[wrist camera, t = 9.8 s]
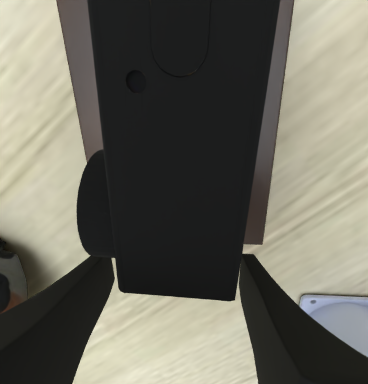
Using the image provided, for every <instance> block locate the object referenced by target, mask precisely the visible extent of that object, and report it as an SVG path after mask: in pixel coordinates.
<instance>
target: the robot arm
mask: <svg viewBox="0 0 368 384" xmlns="http://www.w3.org/2000/svg"><path fill="white" fill-rule="evenodd" d="M114 280H115V277H114V271H113V265H112V260H111V258H110V257H93V256H90V257H89V258H87V259H86V260H85V261H83V262H82V263H81V264H80V265H78V266H77V267H76V268H74V269H73V270H72V271H70V272H69V273H68V274H66V275H65V276H63V277H62V278H61V279H59V280H58V281H56V282H55V283H53V284H52V285H50V286H49V287H47V288H46V289H44V290H43V291H41V292H40V293H38V294H36V295H34V296H33V297H31V298H29V299H28V300H26V301H24V302H22V303H20V304H18V305H16V306H15V307H13V308H11V309H9V310H7V311H5V312H3V313H1V314H0V384H72V383H73V380H74V377H75V374H76V371H77V368H78V365H79V363H80V360H81V357H82V355H83V352H84V349H85V347H86V344H87V342H88V340H89V337H90V335H91V333H92V331H93V329H94V327H95V325H96V323H97V321H98V319H99V317H100V314H101V312H102V310H103V308H104V306H105V304H106V302H107V300H108V298H109V295H110V292H111V289H112V286H113V283H114ZM239 289H240V296H241V303H242V307H243V311H244V316H245V320H246V324H247V328H248V332H249V336H250V340H251V344H252V348H253V353H254V358H255V365H256V371H257V377H258V384H368V297H351V296H326V295H303V296H302V297H301V299H300V304H299V306H298V305H297V304H296V303H295V302H294V301H293V300H292V299H291V298H290V297H289V296H288V295H287V294H286V293H285V292H284V291H283V290H282V289H281V287H280V286H279V285H278V284H277V283H276V282H275V281H274V279H273V278H272V277H271V276H270V275H269V273H268V272H267V271H266V270H265V268H264V267H263V266H262V265H261V263H260V262H259V261H258V259H257V258H256V257H255V255H254V254H242V257H241V266H240V277H239Z"/></svg>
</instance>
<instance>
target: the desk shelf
mask: <svg viewBox="0 0 368 384" xmlns="http://www.w3.org/2000/svg"><path fill="white" fill-rule="evenodd" d="M56 1H57V7H58V12H59V17H60V22H61V28H62V33H63V38H64V44H65V49H66V54H67V60H68V65H69V70H70V75H71V81H72V86H73V91H74V97H75V102H76V107H77V113H78V118H79V123H80V128H81V134H82V139H83V144H84V150H85V155H86V160H87V163H88V161H89V159H90V158H91V156H92V155H93V154H94V153H95V152H97V151H98V150H101V149H103V141H102V132H101V123H100V114H99V104H98V95H97V86H96V77H95V68H94V59H93V49H92V40H91V31H90V22H89V13H88V4H87V0H56ZM293 6H294V0H280V6H279V13H278V19H277V26H276V33H275V39H274V46H273V53H272V60H271V66H270V73H269V80H268V86H267V93H266V100H265V106H264V113H263V119H262V126H261V133H260V139H259V146H258V152H257V159H256V165H255V172H254V179H253V185H252V192H251V198H250V205H249V212H248V218H247V225H246V231H245V238H244V244H255V245H262V244H263V237H264V230H265V222H266V214H267V207H268V199H269V191H270V183H271V176H272V168H273V160H274V153H275V145H276V137H277V129H278V122H279V114H280V106H281V99H282V91H283V83H284V75H285V68H286V60H287V52H288V45H289V37H290V29H291V21H292V14H293Z"/></svg>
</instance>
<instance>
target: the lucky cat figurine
mask: <svg viewBox="0 0 368 384" xmlns="http://www.w3.org/2000/svg"><path fill="white" fill-rule="evenodd" d="M4 246H5V242H4V241H2V240H1V239H0V314H1V313H3V312H5V311H7V310H9V309H11V308H13V307H15V306H16V305H18V304H20V303H22V302H24V301H26V300H28V295H27V284H26V277H25V274H24V272H23V269H22V266H21V263H20V260H19V258H18V256H17V255H16V254H15V253H12V252H8V251H4V250H3V248H4Z"/></svg>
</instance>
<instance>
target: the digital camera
mask: <svg viewBox="0 0 368 384" xmlns="http://www.w3.org/2000/svg"><path fill="white" fill-rule="evenodd" d="M87 4H88V13H89V22H90V31H91V40H92V49H93V59H94V68H95V77H96V86H97V95H98V104H99V114H100V123H101V132H102V141H103V149H101V150H98V151H97V152H95V153H94V154H93V155H92V156H91V158H90V159H89V161H88V163H87V165H86V167H85V169H84V171H83V174H82V178H81V182H80V186H79V190H78V198H77V225H78V232H79V236H80V240H81V243H82V246H83V247H84V249H85V251H86V252H87V253H88V254H89V255H91V256H93V257H110V258H115V260H116V269H117V279H118V287H119V290H120V291H121V292H123V293H135V294H148V295H160V296H173V297H185V298H198V299H210V300H221V301H233V300H235V296H236V289H237V283H238V276H239V270H240V264H241V257H242V251H243V244H244V238H245V231H246V225H247V218H248V212H249V205H250V198H251V192H252V185H253V179H254V172H255V165H256V159H257V152H258V146H259V139H260V133H261V126H262V119H263V113H264V106H265V100H266V93H267V86H268V80H269V73H270V66H271V60H272V53H273V46H274V39H275V33H276V26H277V19H278V13H279V6H280V0H87Z"/></svg>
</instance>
